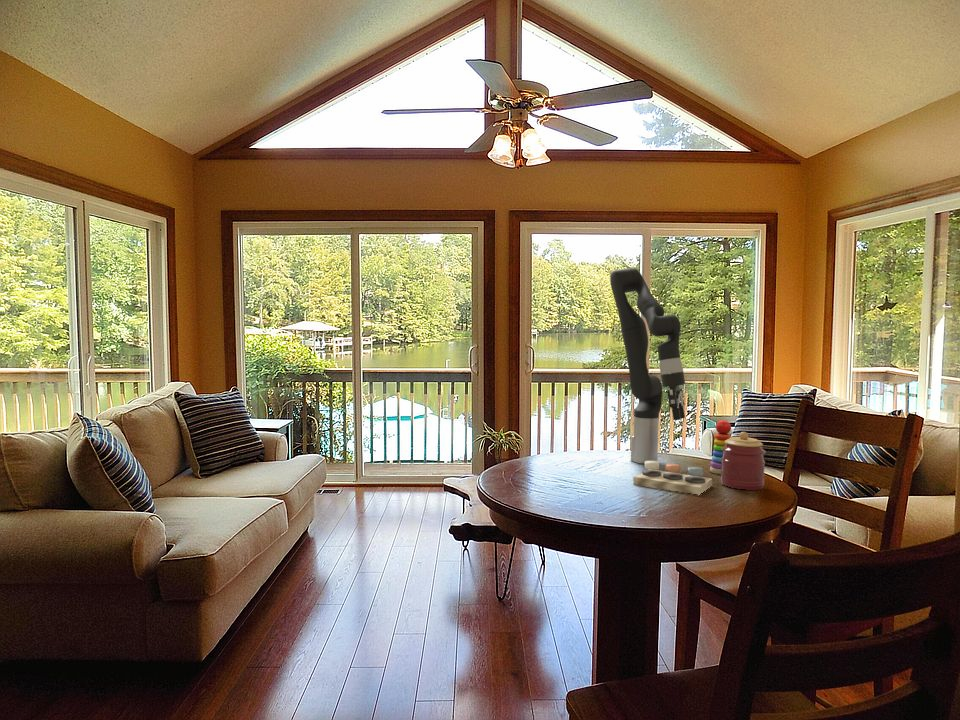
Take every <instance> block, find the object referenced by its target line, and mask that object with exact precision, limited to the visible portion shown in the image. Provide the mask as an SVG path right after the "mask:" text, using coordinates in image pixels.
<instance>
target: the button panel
mask: <svg viewBox="0 0 960 720" xmlns="http://www.w3.org/2000/svg"><path fill="white" fill-rule="evenodd" d="M632 479H633V481H632V483H633V485H634V486H635V485H636V486H641V487H647V488H652V489H656V490H657V489H659V490H663V489H664V491H669V490H670V491H671V492H675V491H679V492H678V493H681V492H685V493H684V494H687V493H692V494H691V495H693V494H698V495H697V496H699V495H700V494H701V493H703V492H704V491H705V492H706V490H707V489H708V488H709V489H710V487H711V486H712V487H713V478H710V477H705V476H691V475H688V474H683V473H670V472H666V470H665V471H664V470H659V469H658V470H650V469H644V470H642V471H641V472H640V473H639V474H636V475H634V476H633V477H632ZM712 487H711V488H712ZM709 489H708V490H709ZM708 490H707V491H708ZM670 491H669V492H670ZM705 492H704V493H705ZM704 493H703V494H704ZM701 495H702V494H701ZM701 495H700V496H701Z"/></svg>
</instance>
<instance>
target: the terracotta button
mask: <svg viewBox="0 0 960 720" xmlns="http://www.w3.org/2000/svg"><path fill="white" fill-rule="evenodd" d="M681 469H682V467H681V464H678V463H665V472H670V473H678V474H681Z"/></svg>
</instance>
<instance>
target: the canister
mask: <svg viewBox="0 0 960 720" xmlns="http://www.w3.org/2000/svg"><path fill="white" fill-rule="evenodd" d="M725 443H726V445H725V446H723V447H722V450H723V457H722V458H721V459H722V473H721V474H720V481H721V485H722V484H723V485H722V486H724V485H725V486H724V487H726V486H728V487H727V488H729V487H731V489H734V488H737V489H736V490H740V489H746V490H745V491H758V490H757V489H761V490H762V488H763V489H764V485H765V464H766V461H765V460H764V455H765V454H766V450H765V449H763V445H764V444H763V443H762V442H761V441H760V440H758V439H757V438H754V437H749V434H748V432H746V431H741V432H740V433H739V436H731V437H730V438H729V439H727V440H725Z"/></svg>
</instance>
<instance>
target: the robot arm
mask: <svg viewBox="0 0 960 720" xmlns="http://www.w3.org/2000/svg"><path fill="white" fill-rule="evenodd" d="M609 282H610V288H611V290H612V291H611V292H612V295H613V298H614V301H615V305H616V308H617V309H616V310H617V313H618V318H619V323H620V329H621V335H622V338H623V339H622V341H623V343H624V349H625V352H626V353H625V355H626V359H627V363H628V364H627V365H628V373H629V374H628V376H629V383H630V390H631V393H632V395H633V396H634V397H635V399H638V404H637V406H636V407H635V408H634V410H633V433H632V436H631V438H630V439H631V441H630V462H634V463H637V464H644V465H645V461H657V462H659V461H658V459H659V428H660V427H659V423H660V412H661V409H662V399H663V388H669V389H666V390H667V391H666V394H667V398H668V406H669V408H670V409H671V411H672V418H673V421H679V420H681V419H684V418H685V417H686V416H685V398H684V395H683V394H684V392H683V388H682V387H680V386H684V385H685V384H686V377H685V375H684V374H685V373H684V368H683V363H682V360H681V353H680V347H679V345H680V336H681V335H680V334H681V327H682V326H681V321H680V319H679V317H678V316H676V315H675V314H666V315H665V310H664V309H665V308H663V307H662V305H661V303H659V302H658V300H657V299H656V298H655V297H654V296H653V294H652V292H651V291H650V288H649V287H648V284H647V282H646V280H645V279H644V277H643V275H642V274H641V272H640V271H639V270H638V269H637V268H635V267H634V268H633V267H629V268H621V269H620V268H619V269H614V270H612V272H610V277H609ZM633 292H635V293H637V294H638V296H637V300H636V306H637V310H638V311H639V312H640V314H641V315H642V316H643V318H644V319H645V321H646V323H645V321H644V319H643V318H642V317H641V315H640V314H639V313H638V312H637V311H636V310H635V309H634V308H633V307H632V305H631V304H630V302H629V301H628V300H629V299H628V298H627V294H626V293H633ZM646 324H647V325H646ZM647 328H648V329H647ZM648 331H649V333H650V334H651V335H652V336H654V337H664V336H665V337H666V336H667V340H666V341H665V342H662V343H659V344H658V346H657V354H658V361H659V372H660V378H661V379H660V378H659V377H658V376H656V375H653V374H650V373H649V369H648V365H647V364H648V363H647V353H648V348H649V337H648V336H649V335H648Z"/></svg>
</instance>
